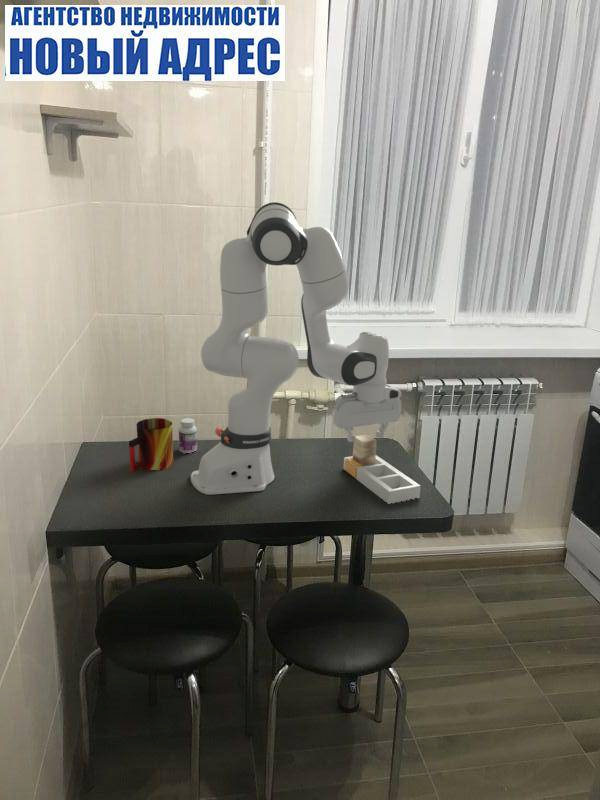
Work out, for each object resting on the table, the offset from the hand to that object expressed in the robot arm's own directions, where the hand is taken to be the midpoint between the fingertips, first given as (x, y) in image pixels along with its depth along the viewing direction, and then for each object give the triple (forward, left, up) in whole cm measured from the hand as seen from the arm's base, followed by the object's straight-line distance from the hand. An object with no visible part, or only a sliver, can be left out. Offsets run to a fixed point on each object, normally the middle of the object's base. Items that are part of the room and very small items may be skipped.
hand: (365, 439), depth 178 cm
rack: (0, -8, -10) cm, 13 cm away
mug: (-54, +24, -10) cm, 60 cm away
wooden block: (0, 0, -10) cm, 10 cm away
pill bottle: (-42, +32, -10) cm, 53 cm away
